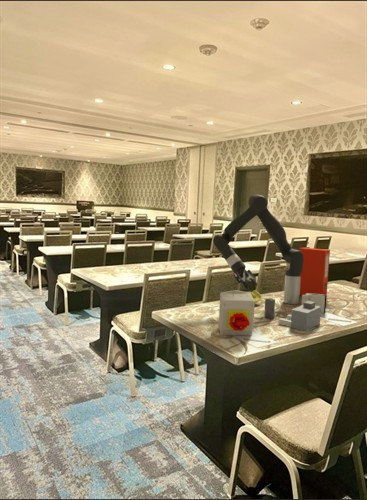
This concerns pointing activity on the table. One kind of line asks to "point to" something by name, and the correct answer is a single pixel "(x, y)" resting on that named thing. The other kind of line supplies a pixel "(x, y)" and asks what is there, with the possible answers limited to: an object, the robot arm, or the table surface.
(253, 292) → the plastic component
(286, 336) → the table surface
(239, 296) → the electrical switch box
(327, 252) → the file binder
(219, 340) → the table surface
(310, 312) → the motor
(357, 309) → the table surface
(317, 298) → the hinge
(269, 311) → the dark grey tube
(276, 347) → the table surface
